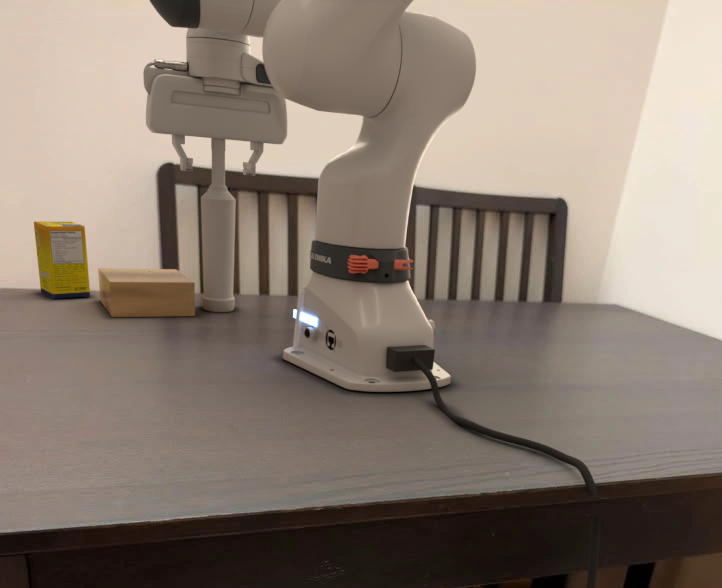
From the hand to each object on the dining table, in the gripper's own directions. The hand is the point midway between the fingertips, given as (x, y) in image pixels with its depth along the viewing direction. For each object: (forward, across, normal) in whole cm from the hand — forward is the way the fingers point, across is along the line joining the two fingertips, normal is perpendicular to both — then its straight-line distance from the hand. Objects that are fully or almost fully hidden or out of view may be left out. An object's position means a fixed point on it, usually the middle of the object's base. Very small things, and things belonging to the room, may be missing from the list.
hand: (218, 173), depth 108 cm
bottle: (+20, 0, 0) cm, 20 cm away
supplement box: (+20, -22, +12) cm, 32 cm away
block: (+20, -11, +1) cm, 23 cm away
